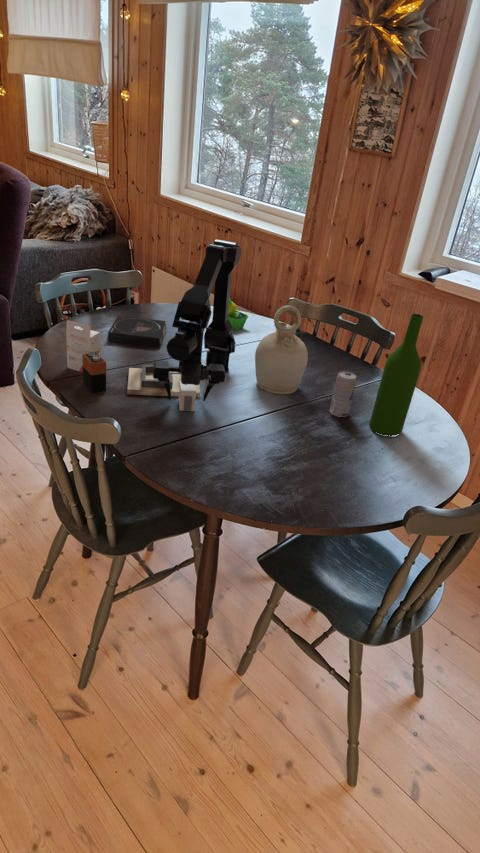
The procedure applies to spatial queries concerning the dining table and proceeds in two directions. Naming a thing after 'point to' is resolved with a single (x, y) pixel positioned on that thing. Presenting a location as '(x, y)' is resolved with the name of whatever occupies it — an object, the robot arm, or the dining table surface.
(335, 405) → the energy drink
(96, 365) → the battery
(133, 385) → the header board
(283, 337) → the jug
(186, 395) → the plug
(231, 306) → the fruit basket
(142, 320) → the portable cd player
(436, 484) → the dining table surface
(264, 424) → the dining table surface
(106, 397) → the dining table surface
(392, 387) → the wine bottle
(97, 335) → the ink cartridge box
